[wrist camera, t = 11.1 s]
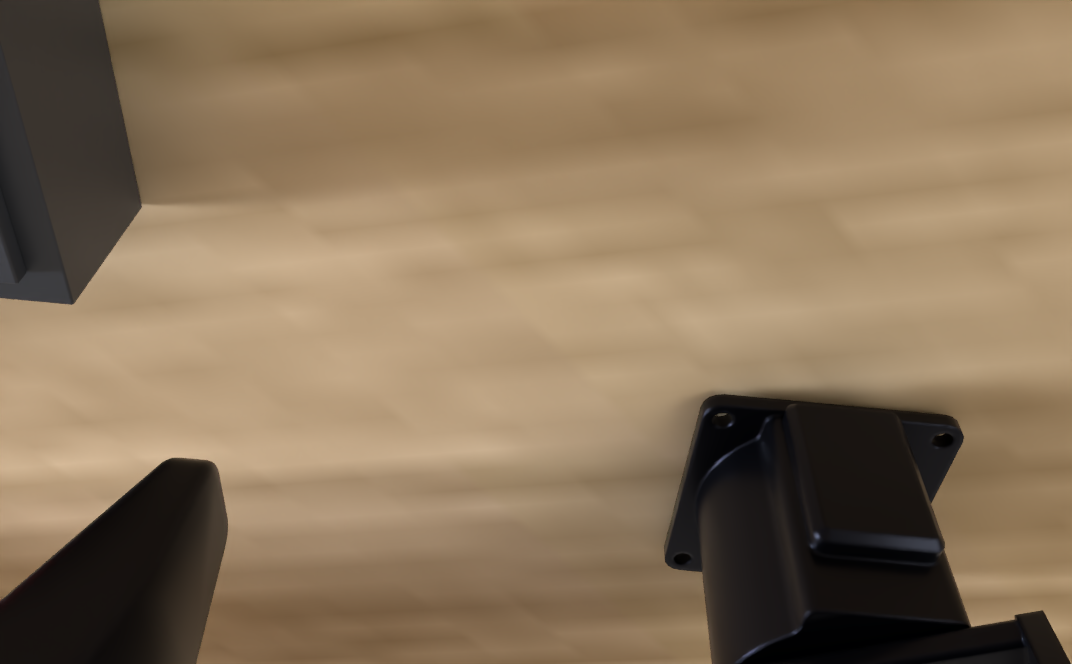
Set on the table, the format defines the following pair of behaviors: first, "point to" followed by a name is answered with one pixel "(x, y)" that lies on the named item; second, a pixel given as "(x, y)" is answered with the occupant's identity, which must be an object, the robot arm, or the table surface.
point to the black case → (59, 150)
